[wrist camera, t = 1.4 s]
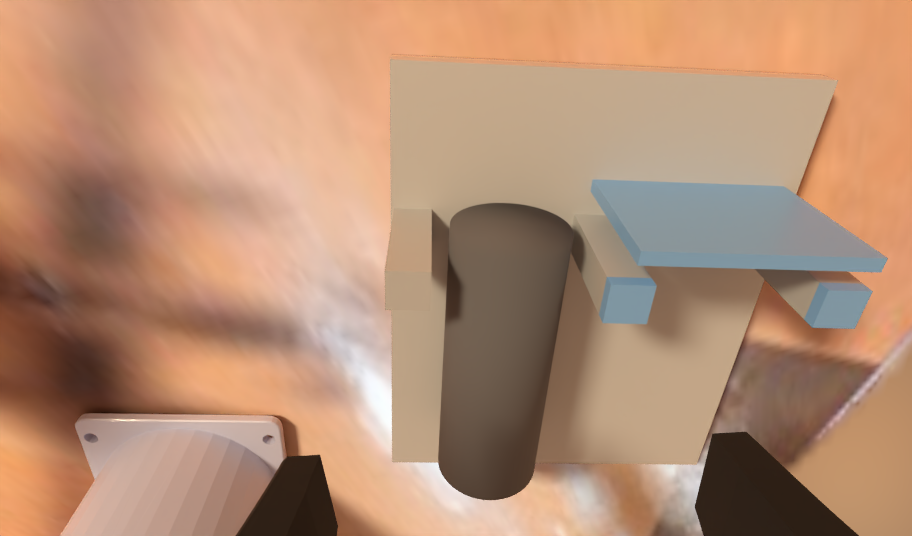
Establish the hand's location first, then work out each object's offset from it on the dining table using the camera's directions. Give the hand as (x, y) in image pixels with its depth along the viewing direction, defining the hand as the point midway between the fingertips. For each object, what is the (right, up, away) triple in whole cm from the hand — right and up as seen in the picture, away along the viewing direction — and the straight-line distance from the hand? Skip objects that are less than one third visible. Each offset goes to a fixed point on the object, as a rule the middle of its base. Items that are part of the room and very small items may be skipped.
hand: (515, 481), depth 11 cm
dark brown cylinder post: (0, +2, +10) cm, 10 cm away
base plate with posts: (+3, +3, +10) cm, 11 cm away
